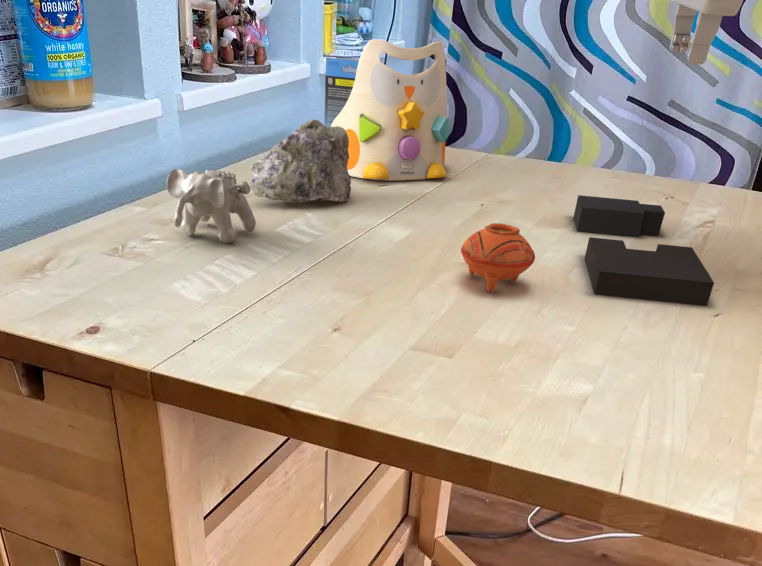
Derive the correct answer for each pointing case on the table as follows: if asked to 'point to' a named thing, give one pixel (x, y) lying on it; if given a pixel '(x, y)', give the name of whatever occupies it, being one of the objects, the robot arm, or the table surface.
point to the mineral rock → (305, 166)
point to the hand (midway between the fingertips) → (685, 57)
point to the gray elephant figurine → (210, 201)
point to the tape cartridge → (337, 87)
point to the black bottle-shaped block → (617, 216)
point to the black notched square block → (647, 272)
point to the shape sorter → (397, 116)
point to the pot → (497, 254)
